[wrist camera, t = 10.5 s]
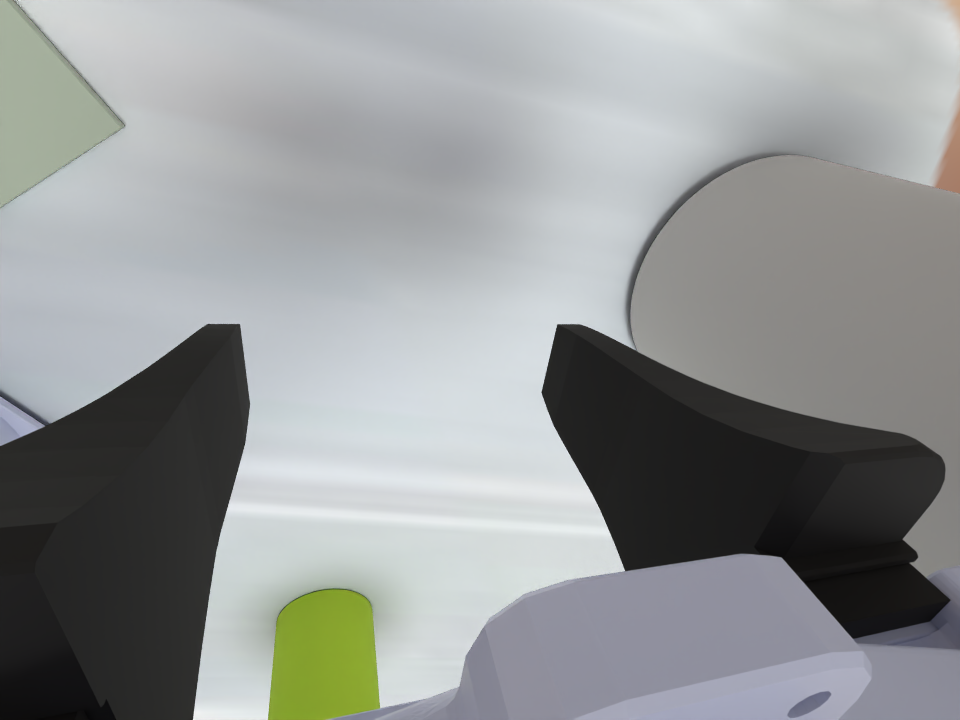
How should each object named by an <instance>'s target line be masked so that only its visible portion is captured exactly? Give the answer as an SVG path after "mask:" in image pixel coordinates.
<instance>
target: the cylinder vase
mask: <svg viewBox="0 0 960 720" xmlns="http://www.w3.org/2000/svg"><path fill="white" fill-rule="evenodd" d="M630 318H631V330H632V335H633V340H634V343H635V346H636V348H637V351H638V352H639V353H641V354H643V355H645V356H647V357H649V358H651V359H653V360H655V361H657V362H659V363H661V364H663V365H665V366H667V367H669V368H672V369H674V370H676V371H678V372H680V373H683V374H685V375H687V376H689V377H691V378H694V379H696V380H698V381H701V382H703V383H706V384H708V385H711V386H714V387H716V388H719V389H722V390H724V391H727V392H730V393H732V394H735V395H738V396H741V397H744V398H747V399H750V400H754V401H757V402H760V403H763V404H767V405H770V406H773V407H777V408H780V409H784V410H788V411H792V412H795V413H799V414H803V415H808V416H812V417H816V418H821V419H825V420H830V421H834V422H839V423H844V424H849V425H855V426H861V427H867V428H873V429H878V430H884V431H890V432H896V433H902V434H905V435H908V436H910V437H912V438H915V439H917V440H918V441H920V442H921V443H923V444H924V445H926V446H927V447H928V448H930V449H931V450H933V451H934V452H936V453H937V454H939V455H940V456H941V457H942V459H943V461H944V463H945V468H946V471H945V481H944V483H943V485H942V488H941V490H940V492H939V493H938V495H937V496H936V498H935V499H934V501H933V502H932V504H931V505H930V506H929V507H928V509H927V510H926V511H925V512H924V514H923V515H922V516H921V517H920V518H919V520H918V521H917V522H916V523H915V525H914V526H913V527H912V528H911V530H910V531H909V532H908V533H907V534H906V536H905V537H904V538H903V540H904V541H905V542H906V543H907V544H908V545H910V546H911V547H912V548H913V549H914V550H915V551H916V552H917V554H918V558H917V560H916V561H915V562H912V563H910V564H911V565H912V566H914V567H915V568H916V569H917V570H918V571H919V572H920V573H921V574H922V575H924V576H925V577H927V576H929V575H930V574H932V573H934V572H935V571H938V570H941V569H943V568H949V567H954V566H959V565H960V194H959V193H955V192H951V191H947V190H942V189H938V188H934V187H930V186H926V185H922V184H918V183H914V182H910V181H906V180H902V179H898V178H894V177H890V176H886V175H882V174H877V173H873V172H869V171H865V170H861V169H857V168H853V167H849V166H845V165H841V164H837V163H833V162H829V161H824V160H820V159H816V158H812V157H807V156H801V155H780V156H772V157H767V158H762V159H758V160H755V161H752V162H749V163H746V164H743V165H741V166H739V167H736V168H734V169H732V170H730V171H728V172H726V173H724V174H723V175H721V176H719V177H717V178H716V179H714V180H713V181H711V182H710V183H708V184H707V185H705V186H704V187H703V188H701V189H700V190H699V191H698V192H696V193H695V194H694V195H693V196H692V197H691V198H689V199H688V200H687V201H686V202H685V203H684V204H683V205H682V206H681V207H680V208H679V209H678V210H677V211H676V212H675V214H674V215H673V216H672V217H671V218H670V219H669V221H668V222H667V223H666V224H665V226H664V227H663V228H662V230H661V231H660V232H659V234H658V235H657V237H656V238H655V240H654V242H653V243H652V245H651V247H650V249H649V250H648V252H647V254H646V256H645V258H644V260H643V263H642V265H641V267H640V270H639V273H638V276H637V279H636V282H635V286H634V290H633V294H632V301H631V314H630Z"/></svg>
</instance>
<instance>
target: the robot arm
mask: <svg viewBox="0 0 960 720" xmlns="http://www.w3.org/2000/svg"><path fill="white" fill-rule="evenodd" d="M542 395H543V398H544V401H545V404H546V407H547V410H548V412H549V415H550V417H551V420H552V422H553V425H554V427H555V429H556V431H557V432H558V434H559V436H560V438H561V440H562V441H563V443H564V445H565V447H566V449H567V450H568V452H569V454H570V456H571V458H572V459H573V461H574V463H575V465H576V466H577V468H578V470H579V472H580V473H581V475H582V477H583V479H584V480H585V482H586V484H587V486H588V487H589V489H590V491H591V493H592V494H593V496H594V498H595V500H596V502H597V504H598V506H599V508H600V510H601V513H602V515H603V517H604V520H605V522H606V524H607V527H608V529H609V531H610V534H611V536H612V538H613V541H614V543H615V546H616V548H617V551H618V553H619V556H620V559H621V561H622V564H623V566H624V569H625V571H624V572H618V573H611V574H605V575H598V576H591V577H585V578H578V579H572V580H567V581H563V582H560V583H557V584H554V585H551V586H548V587H545V588H541V589H538V590H535V591H532V592H529V593H526V594H524V595H522V596H521V597H519V598H518V599H517V600H515V601H514V602H512V603H511V604H509V605H508V606H506V607H505V608H504V609H502V610H501V611H499V612H498V613H496V614H495V615H493V616H492V617H491V618H489V620H488V621H487V623H486V624H485V626H484V628H483V629H482V631H481V632H480V634H479V636H478V637H477V639H476V641H475V642H474V644H473V645H472V647H471V649H470V650H469V652H468V654H467V655H466V658H465V663H464V668H463V673H462V677H461V682H460V686H459V687H457V688H454V689H451V690H449V691H446V692H444V693H441V694H438V695H436V696H433V697H431V698H428V699H423V700H419V701H414V702H409V703H404V704H399V705H394V706H389V707H385V708H380V709H375V710H370V711H365V712H360V713H355V714H351V715H346V716H341V717H336V718H331V719H326V720H960V565H959V566H954V567H949V568H943V569H941V570H938V571H935V572H934V573H932V574H930V575H929V576H927V577H925V576H924V575H922V574H921V573H920V572H919V571H918V570H917V569H916V568H915V567H914V566H912V565H911V564H910V563H912V562H915V561H916V560H917V558H918V554H917V552H916V551H915V550H914V549H913V548H912V547H911V546H910V545H908V544H907V543H906V542H905V541H904V540H903V538H904V537H905V536H906V534H907V533H908V532H909V531H910V530H911V528H912V527H913V526H914V525H915V523H916V522H917V521H918V520H919V518H920V517H921V516H922V515H923V514H924V512H925V511H926V510H927V509H928V507H929V506H930V505H931V504H932V502H933V501H934V499H935V498H936V496H937V495H938V493H939V492H940V490H941V488H942V485H943V483H944V481H945V471H946V468H945V463H944V461H943V459H942V457H941V456H940V455H939V454H937V453H936V452H934V451H933V450H931V449H930V448H928V447H927V446H926V445H924V444H923V443H921V442H920V441H918V440H917V439H915V438H912V437H910V436H908V435H905V434H902V433H896V432H890V431H884V430H878V429H873V428H867V427H861V426H855V425H849V424H844V423H839V422H834V421H830V420H825V419H821V418H816V417H812V416H808V415H803V414H799V413H795V412H792V411H788V410H784V409H780V408H777V407H773V406H770V405H767V404H763V403H760V402H757V401H754V400H750V399H747V398H744V397H741V396H738V395H735V394H732V393H730V392H727V391H724V390H722V389H719V388H716V387H714V386H711V385H708V384H706V383H703V382H701V381H698V380H696V379H694V378H691V377H689V376H687V375H685V374H683V373H680V372H678V371H676V370H674V369H672V368H669V367H667V366H665V365H663V364H661V363H659V362H657V361H655V360H653V359H651V358H649V357H647V356H645V355H643V354H641V353H639V352H637V351H635V350H633V349H631V348H629V347H628V346H626V345H624V344H622V343H620V342H618V341H616V340H614V339H612V338H610V337H608V336H606V335H604V334H602V333H600V332H598V331H595V330H593V329H591V328H588V327H586V326H583V325H580V324H557V328H556V332H555V337H554V341H553V345H552V350H551V354H550V358H549V363H548V367H547V371H546V376H545V380H544V384H543V389H542ZM249 408H250V401H249V393H248V385H247V377H246V369H245V360H244V352H243V344H242V336H241V328H240V324H207V325H206V326H204V327H202V328H201V329H200V330H198V331H197V332H195V333H194V334H193V335H191V336H190V337H189V338H187V339H186V340H185V341H183V342H182V343H181V344H179V345H178V346H177V347H175V348H174V349H173V350H171V351H170V352H169V353H167V354H166V355H164V356H163V357H162V358H160V359H159V360H158V361H156V362H155V363H153V364H152V365H151V366H149V367H148V368H146V369H145V370H143V371H142V372H140V373H139V374H137V375H135V376H134V377H132V378H131V379H129V380H128V381H126V382H125V383H123V384H122V385H120V386H118V387H117V388H115V389H114V390H112V391H111V392H109V393H107V394H106V395H104V396H102V397H101V398H99V399H97V400H95V401H94V402H92V403H90V404H88V405H86V406H85V407H83V408H81V409H79V410H77V411H75V412H73V413H71V414H69V415H67V416H65V417H63V418H61V419H59V420H57V421H55V422H53V423H51V424H49V425H47V426H44V425H43V424H41V423H40V422H38V421H37V420H35V419H34V418H32V417H31V416H29V415H28V414H26V413H25V412H23V411H22V410H20V409H19V408H17V407H15V406H14V405H12V404H11V403H9V402H8V401H6V400H5V399H3V398H2V397H0V720H193V714H194V706H195V698H196V690H197V682H198V674H199V666H200V658H201V650H202V643H203V636H204V629H205V622H206V615H207V608H208V600H209V594H210V588H211V581H212V575H213V568H214V562H215V556H216V550H217V546H218V542H219V537H220V533H221V529H222V525H223V522H224V518H225V515H226V511H227V507H228V504H229V500H230V497H231V493H232V490H233V486H234V482H235V479H236V475H237V472H238V468H239V464H240V461H241V457H242V453H243V449H244V446H245V441H246V433H247V425H248V417H249Z"/></svg>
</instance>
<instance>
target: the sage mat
mask: <svg viewBox="0 0 960 720" xmlns="http://www.w3.org/2000/svg"><path fill="white" fill-rule="evenodd" d="M123 127H125V126H124V124H123V123H122V122H121V121H120V120H119V119H118V118H117V117H116V115H115V114H114V113H113V112H112V111H111V110H110V109H109V108H108V106H107V105H106V104H105V103H104V102H103V101H102V100H101V99H100V97H99V96H98V95H97V94H96V93H95V92H94V91H93V90H92V88H91V87H90V86H89V85H88V84H87V83H86V82H85V81H84V79H83V78H82V77H81V76H80V75H79V74H78V73H77V72H76V70H75V69H74V68H73V67H72V66H71V65H70V64H69V63H68V61H67V60H66V59H65V58H64V57H63V56H62V55H61V54H60V52H59V51H58V50H57V49H56V48H55V47H54V46H53V45H52V43H51V42H50V41H49V40H48V39H47V38H46V37H45V36H44V34H43V33H42V32H41V31H40V30H39V29H38V28H37V27H36V25H35V24H34V23H33V22H32V21H31V20H30V19H29V18H28V16H27V15H26V14H25V13H24V12H23V11H22V10H21V9H20V7H19V6H18V5H17V4H16V3H15V2H14V1H13V0H0V208H1V207H2V206H4V205H5V204H7V203H9V202H10V201H12V200H13V199H15V198H16V197H18V196H19V195H21V194H22V193H24V192H25V191H27V190H28V189H30V188H31V187H33V186H35V185H36V184H38V183H39V182H41V181H42V180H44V179H45V178H47V177H48V176H50V175H51V174H53V173H54V172H56V171H58V170H59V169H61V168H62V167H64V166H65V165H67V164H68V163H70V162H71V161H73V160H74V159H76V158H77V157H79V156H80V155H82V154H84V153H85V152H87V151H88V150H90V149H91V148H93V147H94V146H96V145H97V144H99V143H100V142H102V141H103V140H105V139H106V138H108V137H110V136H111V135H113V134H114V133H116V132H117V131H119V130H120V129H122V128H123Z"/></svg>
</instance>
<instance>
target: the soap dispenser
mask: <svg viewBox="0 0 960 720" xmlns="http://www.w3.org/2000/svg"><path fill="white" fill-rule="evenodd" d="M375 709H380V702H379V689H378V676H377V663H376V651H375V638H374V625H373V612H372V606H371V604H370V602H369V601H368V600H367V599H366V598H365V597H364V596H362V595H360V594H358V593H356V592H352V591H348V590H340V589H331V590H322V591H317V592H313V593H310V594H307V595H304V596H302V597H300V598H298V599H296V600H294V601H293V602H291V603H290V604H289V605H287V606H286V607H285V608H284V609H283V610H282V612H281V613H280V615H279V616H278V619H277V623H276V634H275V646H274V657H273V669H272V680H271V691H270V703H269V714H268V720H326V719H331V718H336V717H341V716H346V715H351V714H355V713H360V712H365V711H370V710H375Z"/></svg>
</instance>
